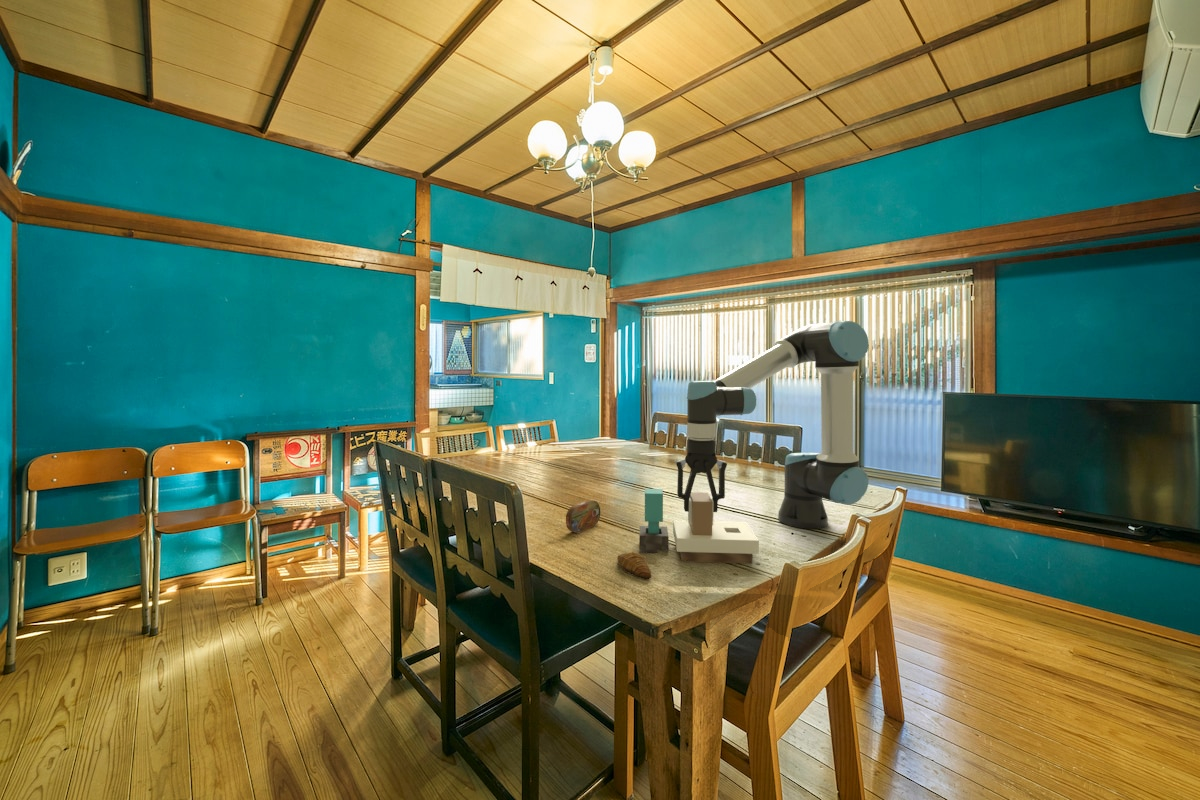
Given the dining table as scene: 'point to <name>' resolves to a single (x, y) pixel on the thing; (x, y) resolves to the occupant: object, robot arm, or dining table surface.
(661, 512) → the teal block
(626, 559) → the croissant
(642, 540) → the holder
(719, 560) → the brown wooden open box
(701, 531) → the lid
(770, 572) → the dining table surface
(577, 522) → the tin
